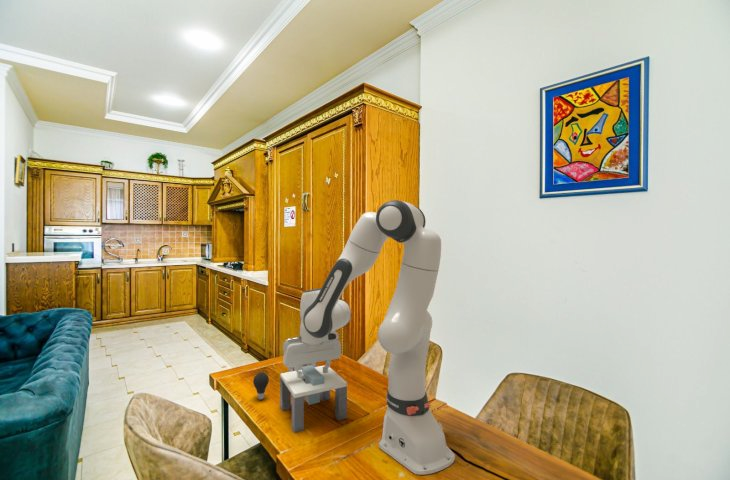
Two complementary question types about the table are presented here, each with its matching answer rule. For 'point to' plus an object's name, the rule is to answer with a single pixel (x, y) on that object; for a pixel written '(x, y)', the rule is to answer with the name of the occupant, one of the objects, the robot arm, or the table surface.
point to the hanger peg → (312, 382)
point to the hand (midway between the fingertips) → (312, 374)
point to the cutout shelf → (301, 389)
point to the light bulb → (261, 384)
